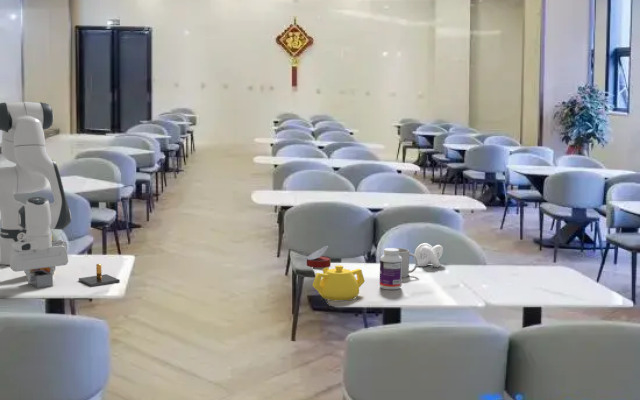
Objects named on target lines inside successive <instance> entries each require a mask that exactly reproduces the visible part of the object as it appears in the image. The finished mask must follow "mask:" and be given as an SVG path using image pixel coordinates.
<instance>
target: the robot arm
mask: <svg viewBox="0 0 640 400" xmlns="http://www.w3.org/2000/svg"><path fill="white" fill-rule="evenodd" d="M54 114H55V113H54V112H53V108H52V106H51V105H50V104H49V103H46V102H34V101H15V102H6V101H5V102H0V131H2V133H1V148H0V149H1V151H0V152H1V155H2V156H3V158H4V159H6V160H8V161H9V162H11V163H13V164H16V165H14V166H0V221H1V227H0V265H4V266H5V265H6V266H7V265H8V266H10V270H12V271H13V272H23V273H24V274H25V276H27V281H28V282H33V281H34V280H33V277H32V276H30V274H29V273H30V270H32V269H40V268H47V267H50V269H51V270H50V272H49V273H51V274H52V275H54V274H55V273H54V272H55V271H56V267H60V266H66V265H67V264H68V263H69V257H68V252H67V251H68V243H67V242H66V241H65V240H62V239H61V240H53V241H52V236H53V235H52V230H64V229H66V228H67V227H68V226H69V225H70V224H71V221H72V213H71V209H70V208H69V204H68V202H67V197H66V193H65V190H64V185H63V181H62V178H61V177H62V176H61V174H60V171H59V167H58V165H57V162H56V161H55V160H54V159H52V158H51V157H50V156H49V154H48V152H47V148H46V147H47V145H46V139H45V133H44V131H45V130H49V129H50V128H51V127H52V126H53V123H54V120H55V119H54V117H55V115H54ZM48 182H49V186H50V189H51V193H52V197H53V202H51V203H50V202H49V201H50V200H48V198H46V197H42V196H33V197H30V198H28V199H27V200H26V203H23V202H22V201H18V200H16V198H15V195H16V194H33V193H36V192H40V191H44V189H45V188H46V186H47V185H48ZM53 273H54V274H53ZM28 282H27V283H28Z"/></svg>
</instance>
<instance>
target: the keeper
mask: <svg viewBox="0 0 640 400" xmlns="http://www.w3.org/2000/svg"><path fill="white" fill-rule="evenodd" d="M95 267H96V270H95V271H96V273H95V274H96V275H92V276H85V277H78V282H80V283H83V284H85V285H87V286H89V287H92V288H93V287H99V286H106V285H111V284H118V283H120V279H119V278H117V277H113V276H111V275H109V274H102V264H101V263H96V265H95Z"/></svg>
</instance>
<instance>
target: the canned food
mask: <svg viewBox="0 0 640 400" xmlns="http://www.w3.org/2000/svg"><path fill="white" fill-rule="evenodd" d="M329 247H330V246H329V245H326V246H325V245H324V246H323V247H321V248H319V249H317V250H315V251H313V252H311V253H310V254H309V255H308V256H307V257H306V266H307V267H308V268H309V267H310V268H314V269H315V268H318V269H319V268H321V269H323V268H329V267H331V264H332V263H331V261H332V260H331V257H329V256H327V255H325V254H326V253H327V251H328V248H329Z"/></svg>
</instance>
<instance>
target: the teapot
mask: <svg viewBox="0 0 640 400" xmlns="http://www.w3.org/2000/svg"><path fill="white" fill-rule="evenodd" d="M334 267H335V268H329V267H325V268H321V269H322V272H316V274H315V276H314V280H313V282H312V285H311V286H312V287H313V288H314V289H315V290H316V291H317V292H318V295H320V296H321V297H322V299H325V300H327V299H329V300H328V301H333V300H347V301H351V299H352V300H354V299H356V298H357V297H358V295H359V294H360V288H361V286H362V285H363V284H365V282H366V280H365V278H364V277H365V276H364V274H363V271H362V269H361V268H356V269H351V270H350V269H347V268H344V266H343V265H340V264H339V265H335V266H334ZM355 275H356V277H355Z"/></svg>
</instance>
